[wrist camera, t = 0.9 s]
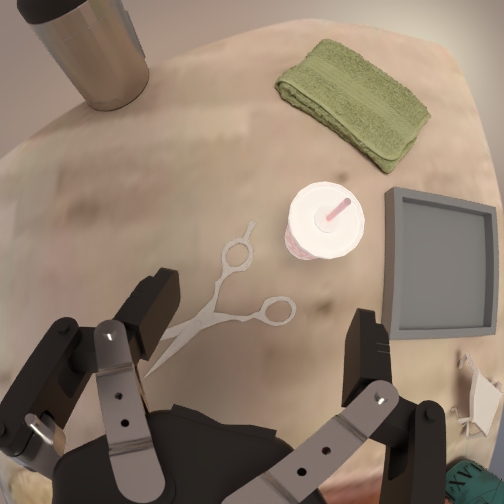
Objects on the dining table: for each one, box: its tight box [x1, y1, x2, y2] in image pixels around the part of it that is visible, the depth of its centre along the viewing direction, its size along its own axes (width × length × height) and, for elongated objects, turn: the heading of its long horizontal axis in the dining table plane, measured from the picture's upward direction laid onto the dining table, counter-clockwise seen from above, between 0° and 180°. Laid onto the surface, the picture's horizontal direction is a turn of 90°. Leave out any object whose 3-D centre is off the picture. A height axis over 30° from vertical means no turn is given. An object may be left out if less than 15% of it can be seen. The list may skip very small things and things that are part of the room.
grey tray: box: [381, 187, 499, 340], centre depth 32 cm, size 16×16×2 cm
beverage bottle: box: [445, 460, 504, 504], centre depth 20 cm, size 6×7×20 cm
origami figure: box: [451, 351, 504, 439], centre depth 29 cm, size 12×8×5 cm
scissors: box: [141, 220, 296, 381], centre depth 32 cm, size 11×1×20 cm
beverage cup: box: [285, 181, 365, 260], centre depth 26 cm, size 6×6×14 cm
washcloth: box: [275, 39, 431, 174], centre depth 34 cm, size 13×18×3 cm
